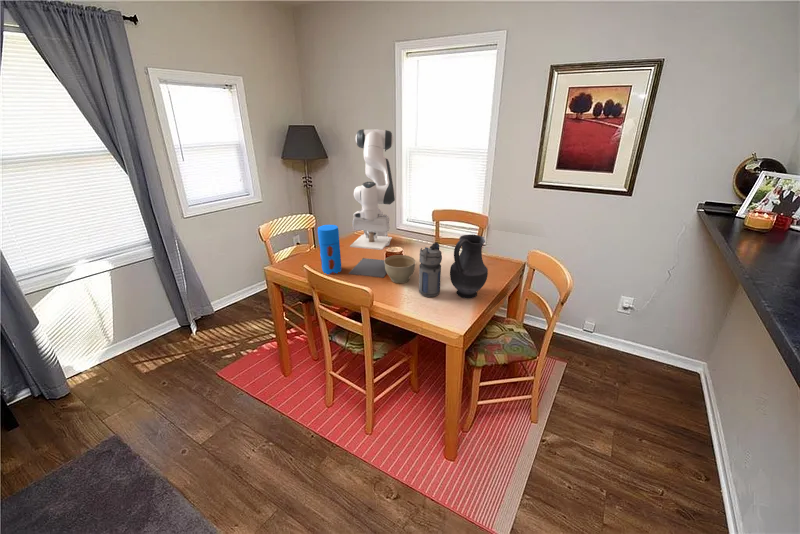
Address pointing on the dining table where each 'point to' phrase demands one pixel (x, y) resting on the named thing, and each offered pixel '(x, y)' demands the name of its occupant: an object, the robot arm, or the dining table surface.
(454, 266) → the pitcher
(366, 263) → the mat
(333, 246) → the blue slotted cylinder
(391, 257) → the planter bowl
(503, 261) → the dining table surface
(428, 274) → the beverage bottle
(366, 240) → the lid
